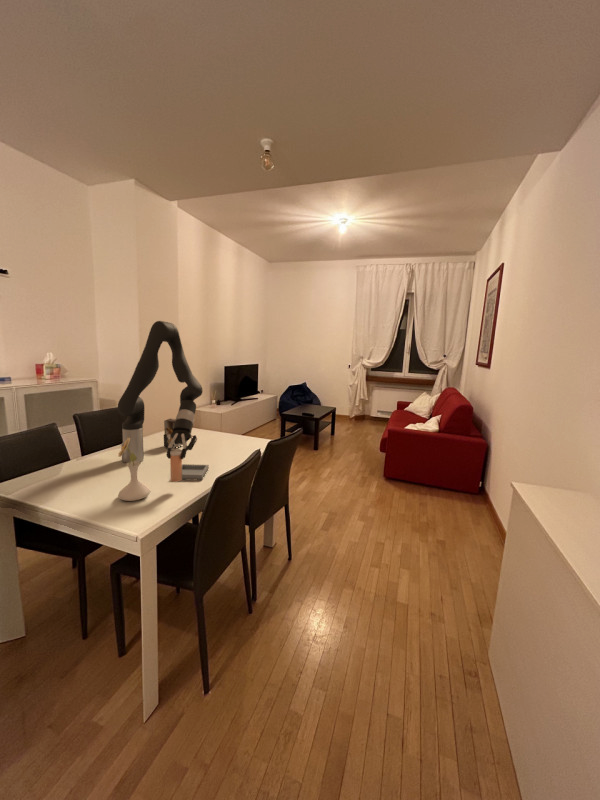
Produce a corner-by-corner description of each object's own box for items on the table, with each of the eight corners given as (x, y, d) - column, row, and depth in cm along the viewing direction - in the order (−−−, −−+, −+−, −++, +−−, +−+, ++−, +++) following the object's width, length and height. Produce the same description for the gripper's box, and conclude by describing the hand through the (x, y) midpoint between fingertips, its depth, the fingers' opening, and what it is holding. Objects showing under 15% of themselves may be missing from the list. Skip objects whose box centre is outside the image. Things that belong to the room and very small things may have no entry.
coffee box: (184, 445, 197) (184, 419, 195) (178, 448, 191) (177, 421, 189) (170, 444, 199) (170, 418, 197) (164, 447, 193) (163, 420, 191)
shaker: (168, 481, 133) (168, 452, 131) (172, 477, 138) (172, 449, 136) (180, 481, 133) (180, 453, 131) (183, 477, 138) (183, 449, 136)
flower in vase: (126, 490, 134) (123, 431, 130) (154, 491, 135) (153, 432, 131) (110, 505, 121) (107, 440, 118) (142, 506, 122) (139, 441, 118)
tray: (172, 479, 147) (172, 474, 147) (181, 469, 160) (181, 464, 160) (202, 480, 148) (202, 474, 147) (208, 469, 161) (208, 464, 160)
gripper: (165, 416, 139) (154, 453, 129) (199, 418, 140) (191, 454, 130) (169, 426, 146) (159, 461, 136) (202, 427, 146) (194, 462, 136)
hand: (175, 457), depth 133 cm, fingers closed on shaker, 4 cm apart
